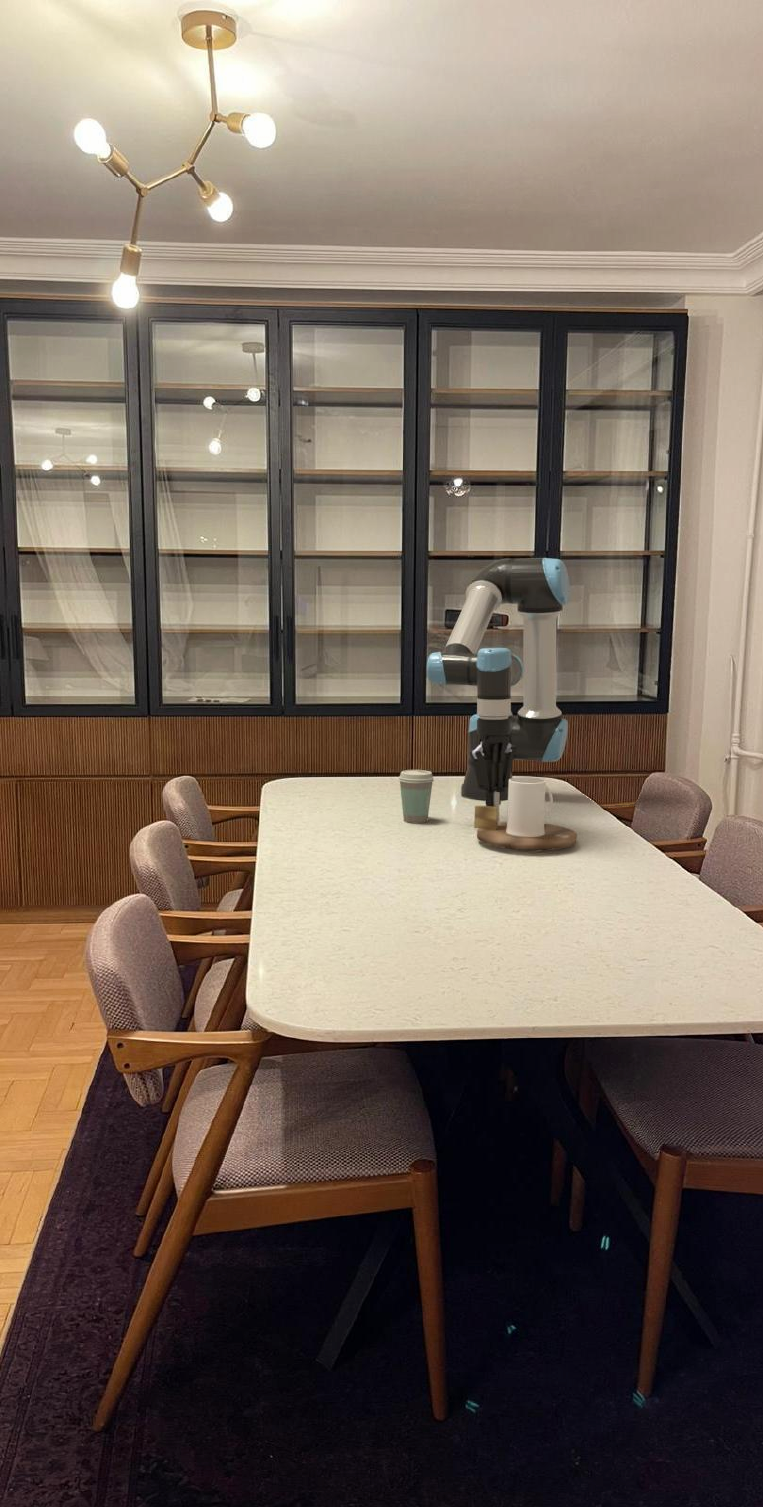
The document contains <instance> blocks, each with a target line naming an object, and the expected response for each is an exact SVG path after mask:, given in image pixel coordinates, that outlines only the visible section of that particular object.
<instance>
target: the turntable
mask: <svg viewBox="0 0 763 1507" xmlns="http://www.w3.org/2000/svg"><path fill="white" fill-rule="evenodd" d="M473 826H474V827H473V828H474V829H477V830H476V838H477V839H478V840H479V841H480V842H481V843H484V844H486V845H490V846H494V847H498V848H503V849H507V848H510V849H509V850H512V849H520V850H543V851H549V850H551V851H552V850H558V849H565V848H569V847H571V846H574V845H575V844H576V843H577V838H578V837H577V836H578V835H577V834H578V833H576V832H575V831H574V830H573V829H570V828H567V827H564V826H561V825H556V824H551V823H544V831H545V834H544V835H543V836H540V837H533V838H525V837H515V836H511V835H508V834H507V833H506V829H507V821H505V822H499V821H498V807H493V806H486V805H481V804H476V805H474V825H473ZM520 850H519V851H520Z"/></svg>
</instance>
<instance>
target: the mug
mask: <svg viewBox="0 0 763 1507" xmlns="http://www.w3.org/2000/svg"><path fill="white" fill-rule="evenodd" d="M546 792H547V794H548V797H549V802H548V806H547V808H546V807H545V806H546ZM553 800H554V799H553V793H552V790H551V789H550V788H549V786H548V785H546V780H545V779H543V778H539V777H532V776H531V777H528V776H522V777H521V776H519V777H513V778H511V779H509V785H508V799H507V819H506V820H507V821H506V822H507V829H506V833H507V834H508V835H511V836H515V837H525V838H533V837H540V836H543V835H544V834H545V831H544V824H545V818H546V816H547V815H548V814H549V813H550V811H551V810H552V806H553ZM545 808H546V810H545Z"/></svg>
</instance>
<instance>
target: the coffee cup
mask: <svg viewBox="0 0 763 1507" xmlns="http://www.w3.org/2000/svg"><path fill="white" fill-rule="evenodd" d="M398 781H399V783H400V784H399V786H400V795H401V806H402V814H403V815H402V816H403V821H404V822H405V823H409V824H422V823H427V822H428V818H429V813H430V805H431V804H430V803H431V797H432V796H431V795H432V789H433V783H434V781H435V780H434V776H433V773H432V771H429V770H423V769H407V770H402V771H401V772H400V775H399V777H398Z"/></svg>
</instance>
